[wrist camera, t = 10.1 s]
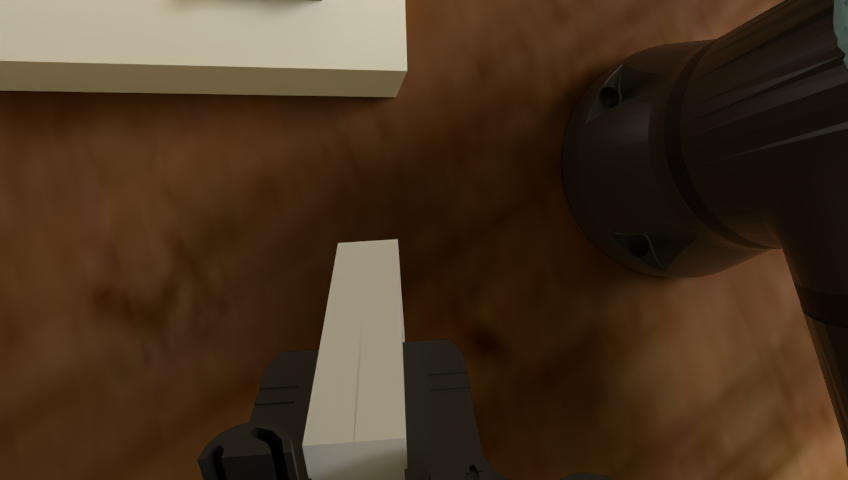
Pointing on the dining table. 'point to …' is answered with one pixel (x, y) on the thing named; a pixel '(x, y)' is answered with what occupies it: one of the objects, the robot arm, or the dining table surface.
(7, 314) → the dining table surface
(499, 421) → the dining table surface
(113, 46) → the switch unit
